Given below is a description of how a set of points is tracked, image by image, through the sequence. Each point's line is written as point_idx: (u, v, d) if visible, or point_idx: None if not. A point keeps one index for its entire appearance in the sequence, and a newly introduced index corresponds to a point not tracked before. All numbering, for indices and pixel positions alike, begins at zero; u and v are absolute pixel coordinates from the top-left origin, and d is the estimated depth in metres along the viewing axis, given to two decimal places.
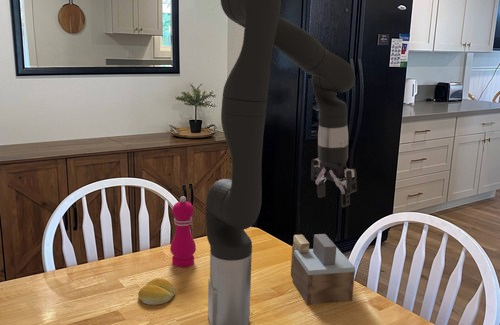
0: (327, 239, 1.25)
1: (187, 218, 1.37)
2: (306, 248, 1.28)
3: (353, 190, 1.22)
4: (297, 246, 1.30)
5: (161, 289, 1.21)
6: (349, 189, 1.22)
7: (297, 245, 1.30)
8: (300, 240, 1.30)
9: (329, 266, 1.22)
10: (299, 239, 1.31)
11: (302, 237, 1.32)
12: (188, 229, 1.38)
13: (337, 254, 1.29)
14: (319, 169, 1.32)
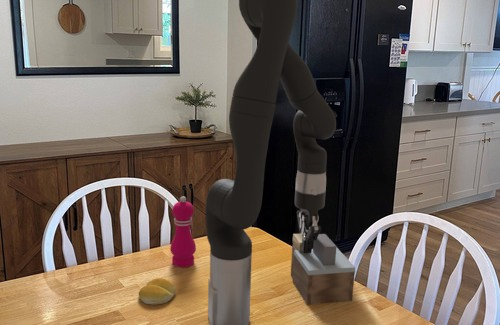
0: (327, 239, 1.25)
1: (187, 218, 1.37)
2: None
3: (311, 238, 1.23)
4: (296, 245, 1.31)
5: (161, 289, 1.21)
6: (306, 236, 1.23)
7: (296, 244, 1.31)
8: (299, 239, 1.30)
9: (329, 266, 1.22)
10: (299, 237, 1.31)
11: (301, 236, 1.33)
12: (188, 229, 1.38)
13: (337, 254, 1.29)
14: None
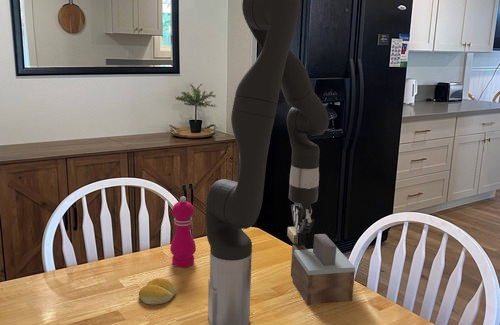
0: (327, 239, 1.25)
1: (187, 218, 1.37)
2: None
3: (305, 231, 1.28)
4: (291, 237, 1.36)
5: (161, 289, 1.21)
6: (300, 229, 1.28)
7: (291, 236, 1.36)
8: (293, 232, 1.35)
9: (329, 266, 1.22)
10: (293, 230, 1.36)
11: (295, 229, 1.37)
12: (188, 229, 1.38)
13: (337, 254, 1.29)
14: None
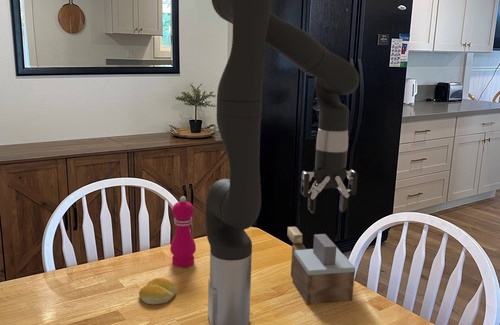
0: (327, 239, 1.25)
1: (187, 218, 1.37)
2: (299, 239, 1.34)
3: (302, 192, 1.20)
4: (291, 237, 1.36)
5: (162, 288, 1.21)
6: None
7: (291, 236, 1.36)
8: (293, 232, 1.35)
9: (329, 266, 1.22)
10: (293, 230, 1.36)
11: (295, 229, 1.37)
12: (188, 229, 1.38)
13: (337, 254, 1.29)
14: (351, 183, 1.22)
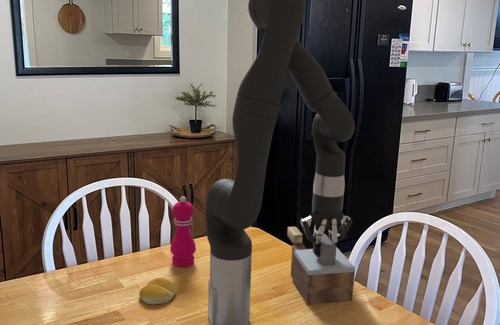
0: (327, 239, 1.25)
1: (187, 218, 1.37)
2: (299, 239, 1.34)
3: (307, 237, 1.24)
4: (291, 237, 1.36)
5: (162, 288, 1.21)
6: None
7: (291, 236, 1.36)
8: (293, 232, 1.35)
9: (329, 266, 1.22)
10: (293, 230, 1.36)
11: (295, 229, 1.37)
12: (188, 229, 1.38)
13: (337, 254, 1.29)
14: (343, 228, 1.24)
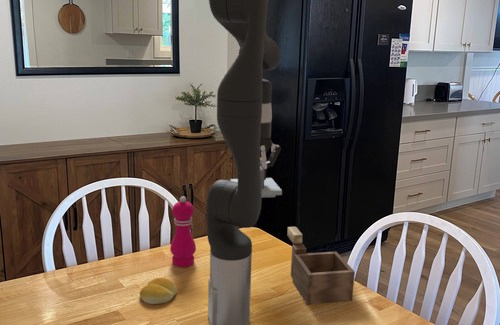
0: None
1: (187, 218, 1.37)
2: (299, 239, 1.34)
3: None
4: (291, 237, 1.36)
5: (163, 288, 1.21)
6: None
7: (291, 236, 1.36)
8: (293, 232, 1.35)
9: None
10: (293, 230, 1.36)
11: (295, 229, 1.37)
12: (188, 229, 1.38)
13: (269, 182, 1.38)
14: (272, 155, 1.33)
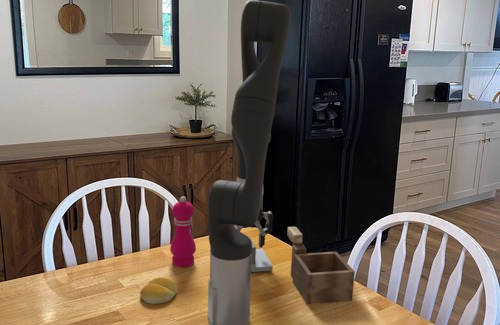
0: None
1: (187, 218, 1.37)
2: (299, 239, 1.34)
3: None
4: (291, 237, 1.36)
5: (163, 288, 1.21)
6: None
7: (291, 236, 1.36)
8: (293, 232, 1.35)
9: None
10: (293, 230, 1.36)
11: (295, 229, 1.37)
12: (188, 229, 1.38)
13: (260, 254, 1.44)
14: (267, 223, 1.39)
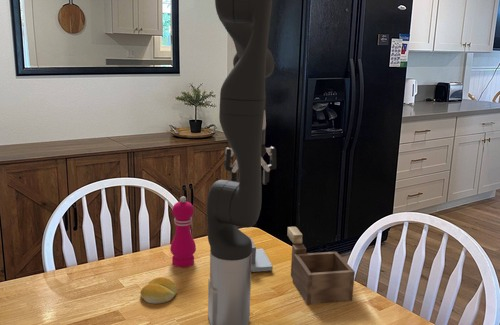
0: None
1: (187, 218, 1.37)
2: (299, 239, 1.34)
3: (224, 167, 1.33)
4: (291, 237, 1.36)
5: (163, 288, 1.21)
6: None
7: (291, 236, 1.36)
8: (293, 232, 1.35)
9: None
10: (293, 230, 1.36)
11: (295, 229, 1.37)
12: (188, 229, 1.38)
13: (260, 254, 1.44)
14: (271, 158, 1.35)
